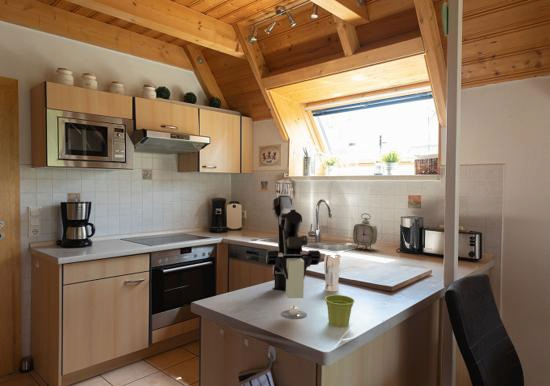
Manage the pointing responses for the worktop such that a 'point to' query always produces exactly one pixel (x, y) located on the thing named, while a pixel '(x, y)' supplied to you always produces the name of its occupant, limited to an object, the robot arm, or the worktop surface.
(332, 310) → the plant pot
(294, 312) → the tea light
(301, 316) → the saucer
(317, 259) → the robot arm
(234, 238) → the worktop surface
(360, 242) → the tabletop clock
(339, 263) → the beer glass
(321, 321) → the worktop surface
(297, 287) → the cover
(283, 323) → the worktop surface
